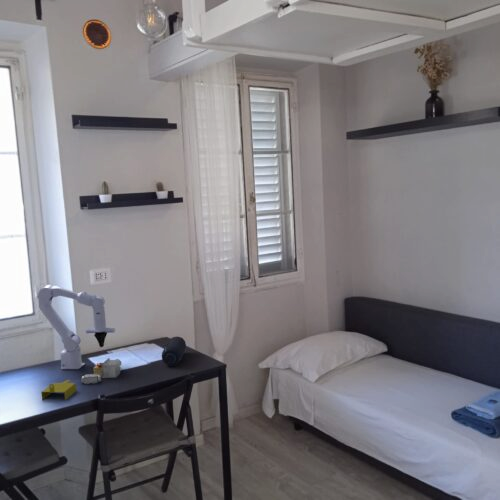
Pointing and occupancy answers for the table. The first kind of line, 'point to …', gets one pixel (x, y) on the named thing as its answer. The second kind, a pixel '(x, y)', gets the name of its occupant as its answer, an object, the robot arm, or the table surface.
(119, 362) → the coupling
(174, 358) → the portable speaker
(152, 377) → the table surface
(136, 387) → the table surface
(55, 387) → the bracket
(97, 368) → the valve
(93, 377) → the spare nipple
